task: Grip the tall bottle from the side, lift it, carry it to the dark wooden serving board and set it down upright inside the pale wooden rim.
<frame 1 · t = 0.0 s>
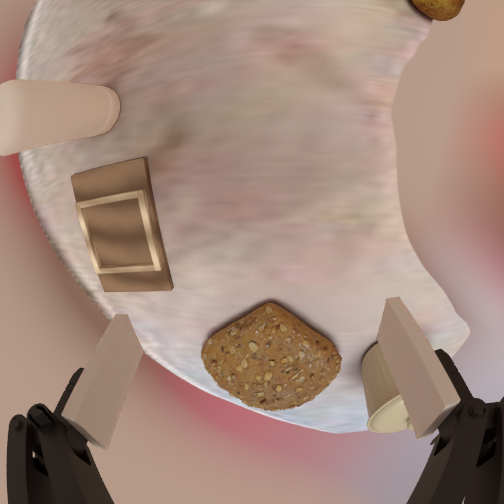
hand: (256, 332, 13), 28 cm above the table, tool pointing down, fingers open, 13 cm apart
canister: (386, 351, 53), on the table
fruit: (422, 3, 22), on the table
bottle: (100, 110, 32), on the table
bread: (271, 347, 52), on the table
serving board: (121, 231, 41), on the table
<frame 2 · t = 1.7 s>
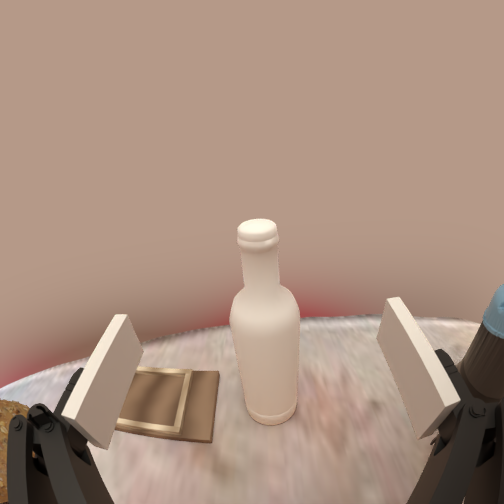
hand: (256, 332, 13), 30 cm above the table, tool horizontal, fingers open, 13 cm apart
bottle: (271, 406, 38), on the table
bread: (12, 462, 20), on the table
serving board: (153, 402, 39), on the table
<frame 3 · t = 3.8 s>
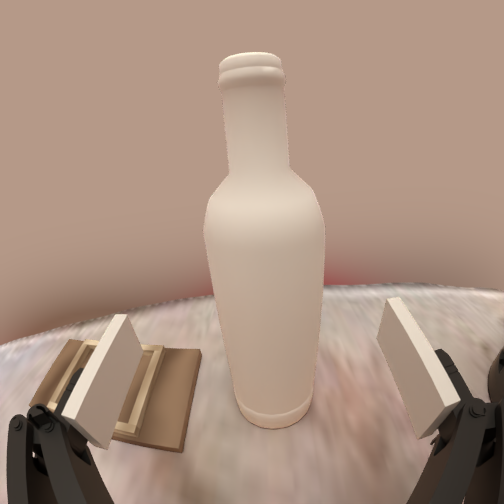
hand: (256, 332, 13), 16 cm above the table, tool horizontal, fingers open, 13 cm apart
bottle: (274, 400, 26), on the table
serving board: (110, 389, 27), on the table
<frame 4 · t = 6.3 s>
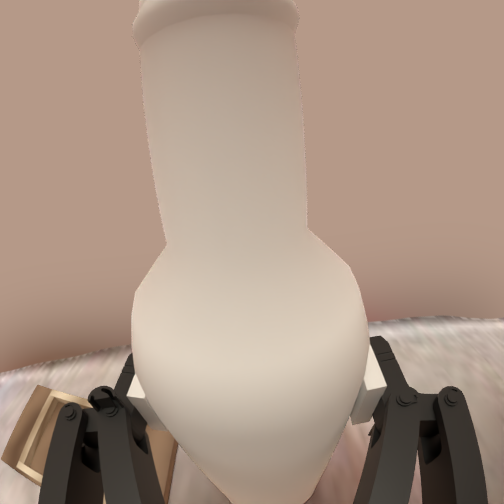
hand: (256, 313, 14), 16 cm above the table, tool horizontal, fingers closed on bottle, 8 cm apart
bottle: (270, 482, 17), on the table, touching gripper
serving board: (81, 452, 18), on the table
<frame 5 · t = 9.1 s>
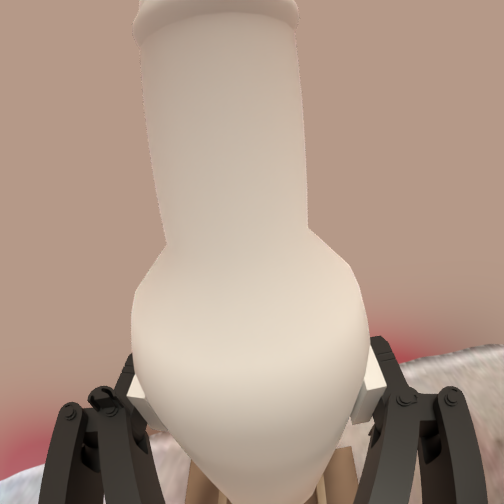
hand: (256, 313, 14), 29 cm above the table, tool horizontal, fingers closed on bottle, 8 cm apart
bottle: (270, 482, 17), point 13 cm above the table, touching gripper
serving board: (272, 501, 23), on the table
when the fingers open (19 cm above the table, at t = 11.9 s): bottle drops 1 cm, resting on serving board.
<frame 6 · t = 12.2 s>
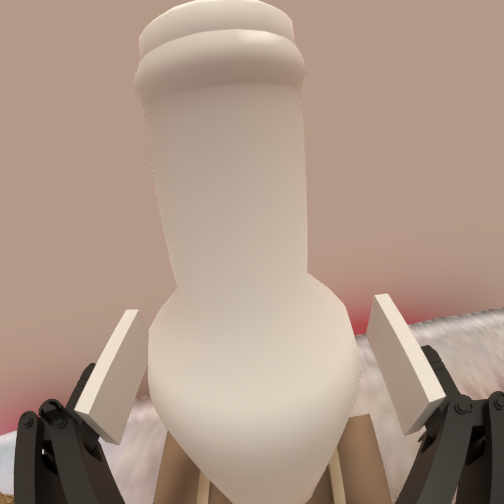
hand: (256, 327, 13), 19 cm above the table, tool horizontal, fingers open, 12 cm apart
bottle: (270, 485, 18), point 1 cm above the table, touching serving board
serving board: (270, 487, 18), on the table
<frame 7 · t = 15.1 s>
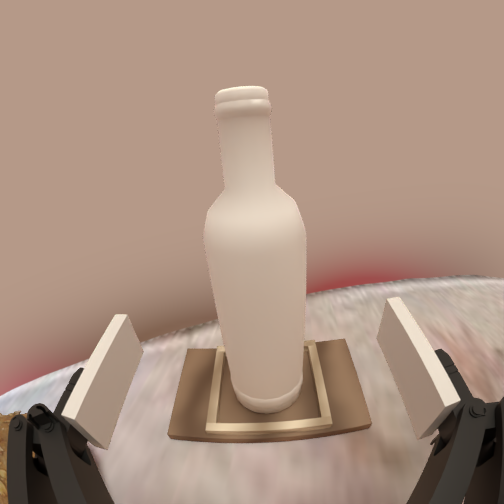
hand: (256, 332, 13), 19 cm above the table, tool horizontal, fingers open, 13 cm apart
bottle: (268, 388, 29), point 1 cm above the table, touching serving board
serving board: (268, 392, 30), on the table
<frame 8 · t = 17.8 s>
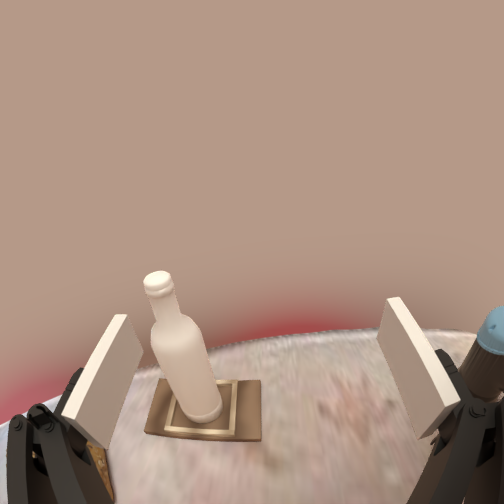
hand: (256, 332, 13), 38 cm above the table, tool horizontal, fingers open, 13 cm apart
bottle: (203, 408, 46), point 1 cm above the table, touching serving board
bread: (68, 476, 27), on the table
serving board: (204, 410, 46), on the table
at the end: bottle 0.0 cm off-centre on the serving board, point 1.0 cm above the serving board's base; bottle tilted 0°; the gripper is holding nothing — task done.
